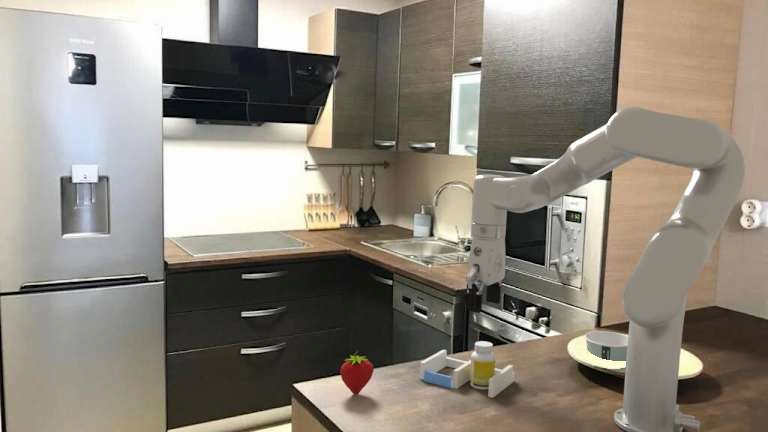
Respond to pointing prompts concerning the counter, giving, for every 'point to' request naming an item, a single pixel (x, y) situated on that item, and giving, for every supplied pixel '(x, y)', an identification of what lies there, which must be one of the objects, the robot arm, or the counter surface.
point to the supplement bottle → (482, 365)
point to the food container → (607, 345)
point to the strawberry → (356, 373)
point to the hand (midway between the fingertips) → (483, 306)
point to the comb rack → (461, 373)
